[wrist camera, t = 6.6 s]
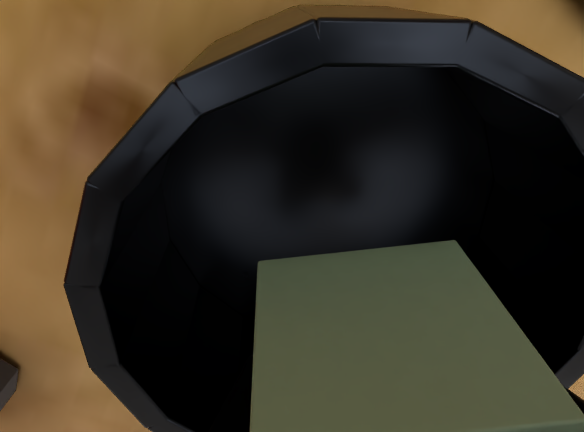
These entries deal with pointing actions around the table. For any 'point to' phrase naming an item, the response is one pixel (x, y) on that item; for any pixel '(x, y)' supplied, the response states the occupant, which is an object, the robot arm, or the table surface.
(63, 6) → the table surface
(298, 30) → the pot
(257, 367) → the block
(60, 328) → the table surface
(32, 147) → the table surface
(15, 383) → the wizard figurine
